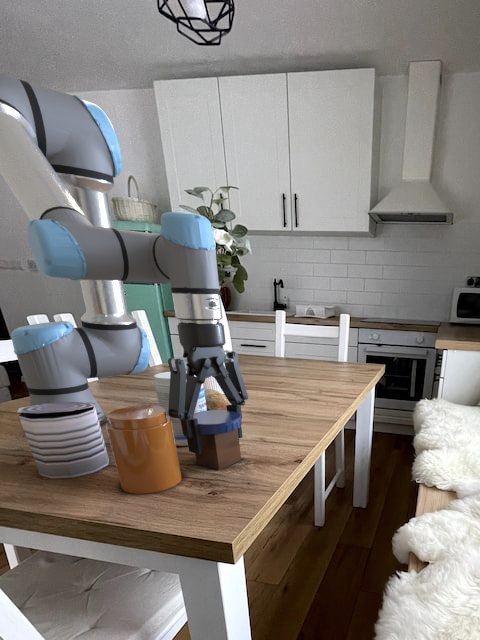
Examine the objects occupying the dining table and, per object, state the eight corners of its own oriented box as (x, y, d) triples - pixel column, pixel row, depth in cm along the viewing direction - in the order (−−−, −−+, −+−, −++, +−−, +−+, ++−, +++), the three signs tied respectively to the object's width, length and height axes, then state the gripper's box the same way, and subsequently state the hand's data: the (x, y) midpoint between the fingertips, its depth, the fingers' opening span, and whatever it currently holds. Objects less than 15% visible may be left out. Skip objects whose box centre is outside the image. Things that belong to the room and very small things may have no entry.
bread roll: (193, 428, 108) (187, 405, 102) (193, 404, 114) (188, 381, 108) (230, 426, 111) (227, 403, 105) (229, 402, 117) (226, 380, 111)
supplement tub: (215, 442, 88) (206, 376, 82) (170, 450, 83) (157, 380, 77) (204, 431, 96) (195, 369, 89) (162, 437, 91) (149, 372, 84)
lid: (252, 425, 76) (251, 416, 76) (206, 438, 69) (205, 427, 68) (221, 416, 82) (220, 407, 81) (176, 426, 75) (174, 417, 74)
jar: (111, 482, 69) (92, 412, 64) (164, 466, 76) (151, 401, 70) (138, 499, 64) (119, 424, 58) (192, 480, 71) (180, 411, 65)
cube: (196, 463, 77) (191, 429, 74) (219, 454, 82) (215, 421, 79) (219, 470, 75) (214, 435, 72) (241, 459, 80) (237, 426, 77)
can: (21, 476, 70) (-3, 410, 65) (72, 453, 80) (54, 395, 75) (80, 481, 69) (59, 414, 64) (123, 457, 79) (109, 398, 74)
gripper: (157, 325, 57) (183, 467, 66) (260, 320, 75) (269, 431, 84) (124, 323, 60) (153, 458, 69) (231, 318, 78) (242, 426, 88)
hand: (217, 444), depth 77 cm, fingers closed on lid, 10 cm apart
